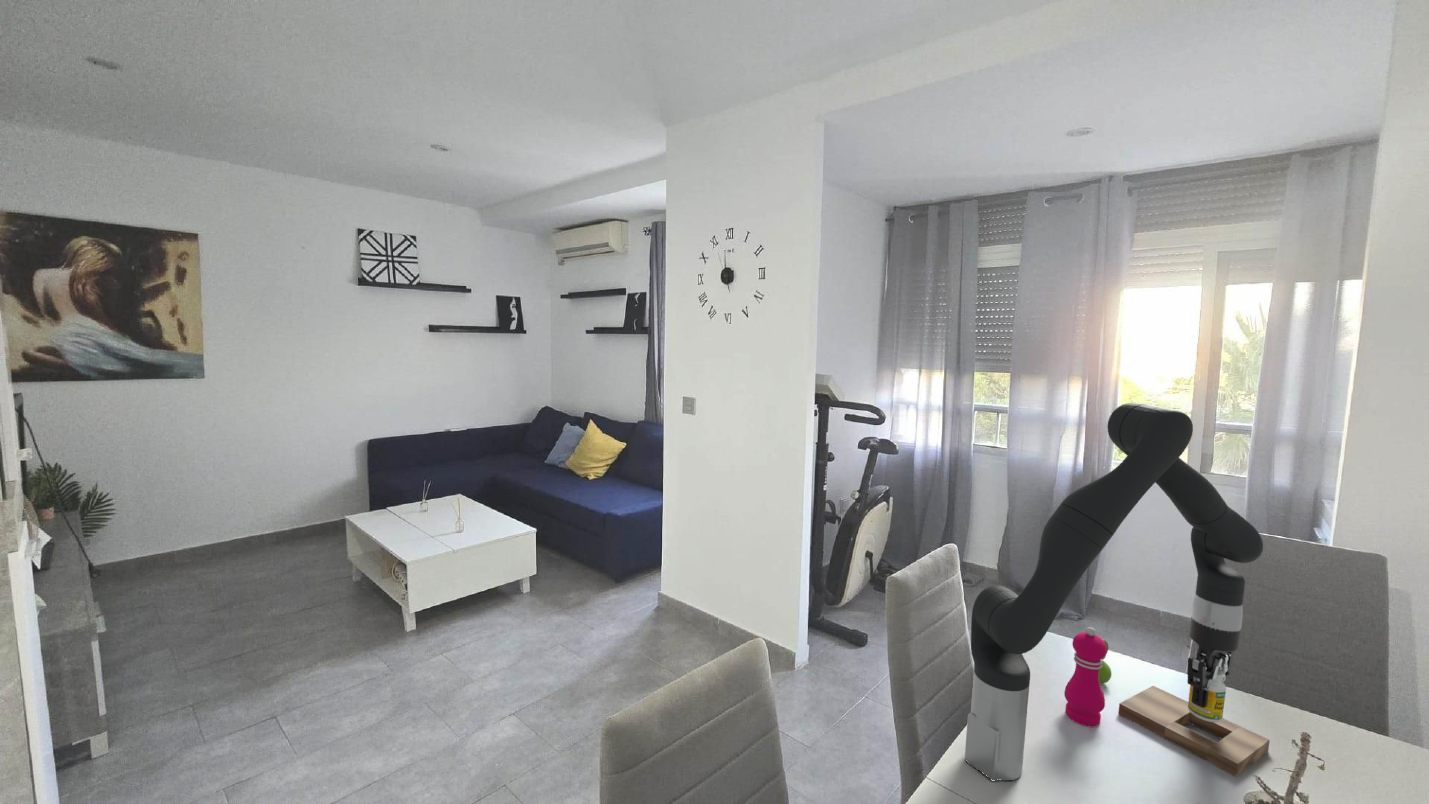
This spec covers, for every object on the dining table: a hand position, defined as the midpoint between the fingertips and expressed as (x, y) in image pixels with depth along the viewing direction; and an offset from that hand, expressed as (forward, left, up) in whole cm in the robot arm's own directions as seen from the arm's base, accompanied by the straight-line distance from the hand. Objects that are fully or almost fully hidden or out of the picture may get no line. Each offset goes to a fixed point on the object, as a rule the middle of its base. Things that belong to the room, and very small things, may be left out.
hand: (1206, 700), depth 117 cm
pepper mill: (-15, +15, -8) cm, 23 cm away
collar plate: (0, +2, -8) cm, 8 cm away
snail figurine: (+1, +21, -8) cm, 23 cm away
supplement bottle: (0, 0, -3) cm, 3 cm away
